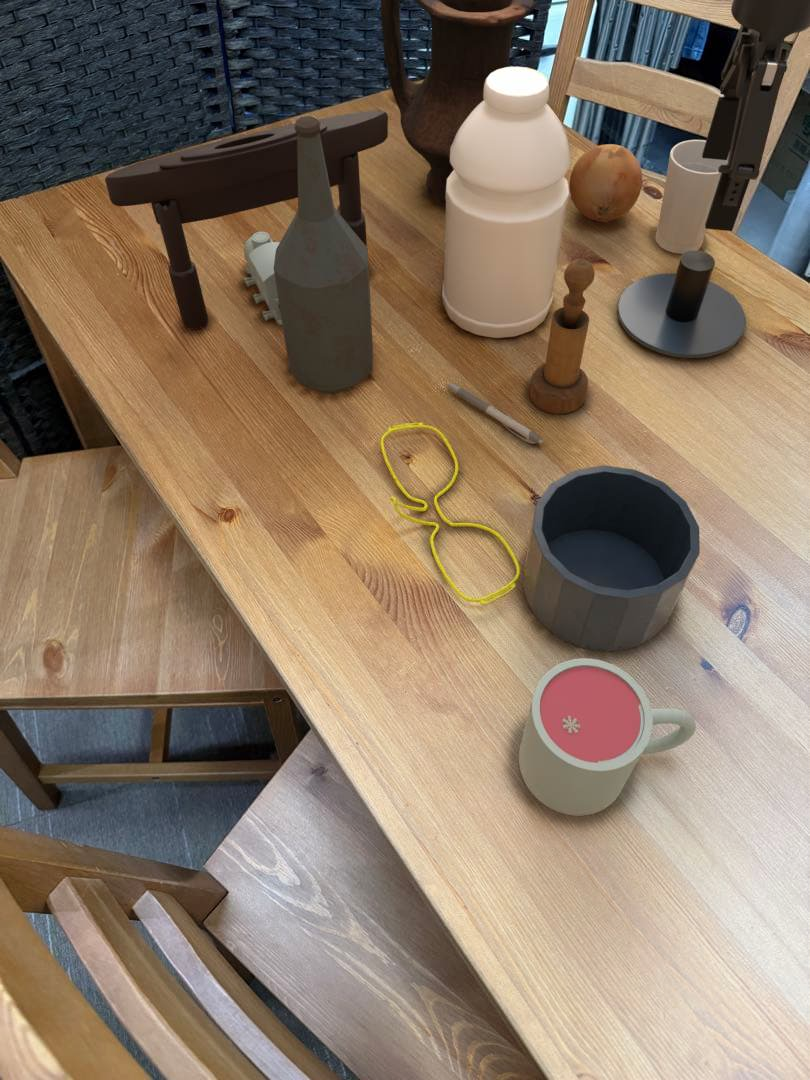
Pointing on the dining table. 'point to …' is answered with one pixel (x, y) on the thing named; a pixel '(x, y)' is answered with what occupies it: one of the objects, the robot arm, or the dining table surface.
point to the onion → (605, 182)
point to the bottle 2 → (505, 207)
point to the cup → (687, 197)
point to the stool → (243, 194)
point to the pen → (496, 415)
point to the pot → (608, 557)
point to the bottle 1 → (323, 281)
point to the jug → (448, 72)
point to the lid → (682, 311)
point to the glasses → (481, 600)
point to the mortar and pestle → (565, 348)
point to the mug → (590, 735)
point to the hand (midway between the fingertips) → (716, 191)
